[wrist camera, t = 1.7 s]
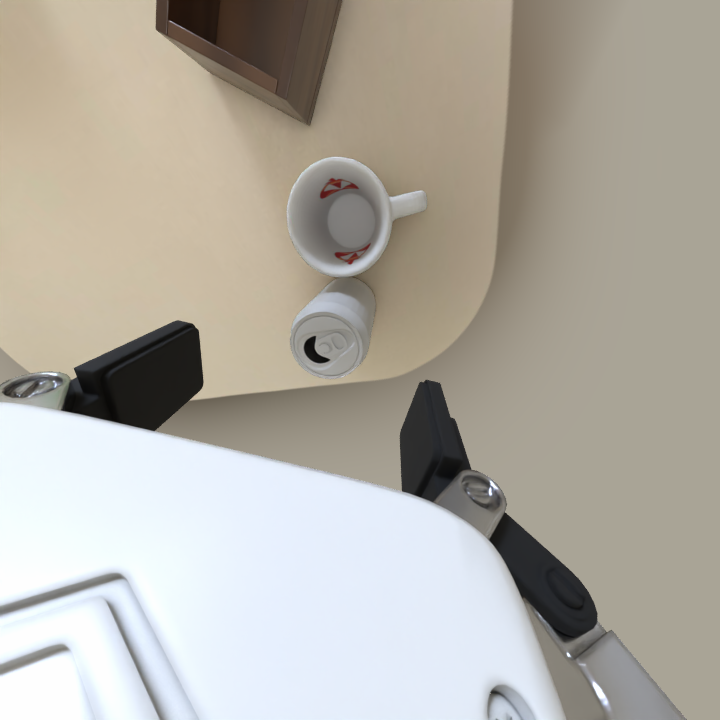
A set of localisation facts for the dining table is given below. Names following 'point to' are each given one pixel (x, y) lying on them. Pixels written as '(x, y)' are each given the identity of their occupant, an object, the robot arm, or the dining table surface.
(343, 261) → the cup
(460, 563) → the robot arm
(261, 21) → the wooden compartment box
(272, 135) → the dining table surface
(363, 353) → the beverage can
